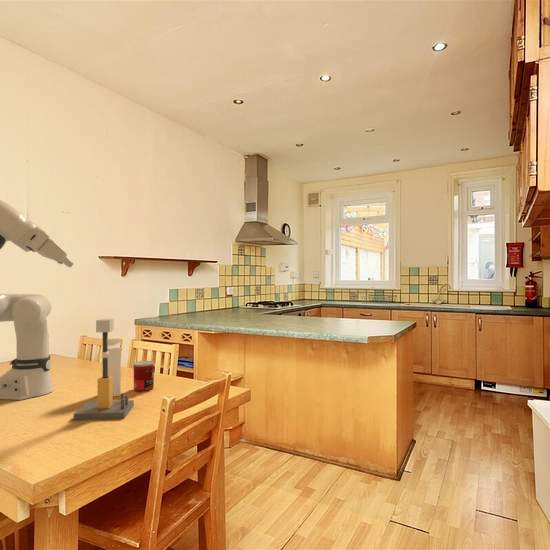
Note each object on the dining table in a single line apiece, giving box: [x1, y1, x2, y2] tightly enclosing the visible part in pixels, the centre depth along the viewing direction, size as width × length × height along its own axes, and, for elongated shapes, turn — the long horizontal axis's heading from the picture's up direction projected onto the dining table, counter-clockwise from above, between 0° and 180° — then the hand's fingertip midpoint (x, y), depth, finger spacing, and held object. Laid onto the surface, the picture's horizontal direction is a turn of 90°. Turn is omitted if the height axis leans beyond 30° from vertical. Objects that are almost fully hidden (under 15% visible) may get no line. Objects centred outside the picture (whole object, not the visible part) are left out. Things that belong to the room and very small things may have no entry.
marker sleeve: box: [96, 375, 114, 409], centre depth 133 cm, size 4×4×10 cm
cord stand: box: [73, 318, 135, 421], centre depth 133 cm, size 16×12×32 cm
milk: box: [101, 337, 122, 397], centre depth 152 cm, size 6×6×22 cm
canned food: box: [133, 360, 155, 393], centre depth 160 cm, size 8×8×11 cm
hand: (66, 264), depth 136 cm, fingers open, 8 cm apart
